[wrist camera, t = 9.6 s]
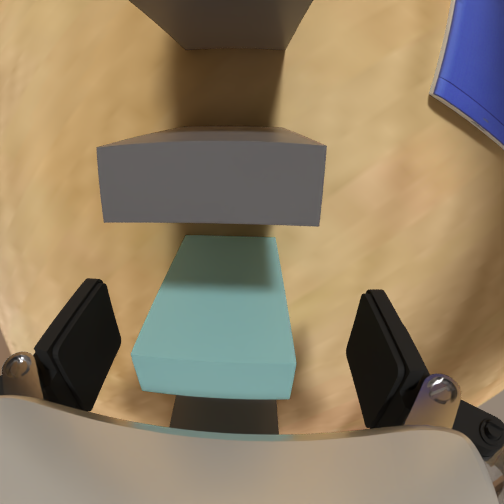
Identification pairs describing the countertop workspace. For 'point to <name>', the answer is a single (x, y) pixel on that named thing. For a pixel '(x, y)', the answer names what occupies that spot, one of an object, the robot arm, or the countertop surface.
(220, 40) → the tile
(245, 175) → the tile
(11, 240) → the countertop surface
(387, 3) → the countertop surface
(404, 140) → the countertop surface
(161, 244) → the countertop surface
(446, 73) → the hard drive
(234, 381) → the tile
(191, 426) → the tile
